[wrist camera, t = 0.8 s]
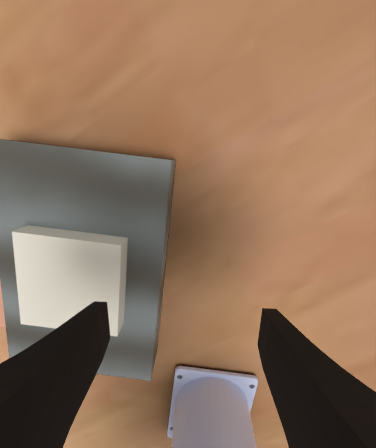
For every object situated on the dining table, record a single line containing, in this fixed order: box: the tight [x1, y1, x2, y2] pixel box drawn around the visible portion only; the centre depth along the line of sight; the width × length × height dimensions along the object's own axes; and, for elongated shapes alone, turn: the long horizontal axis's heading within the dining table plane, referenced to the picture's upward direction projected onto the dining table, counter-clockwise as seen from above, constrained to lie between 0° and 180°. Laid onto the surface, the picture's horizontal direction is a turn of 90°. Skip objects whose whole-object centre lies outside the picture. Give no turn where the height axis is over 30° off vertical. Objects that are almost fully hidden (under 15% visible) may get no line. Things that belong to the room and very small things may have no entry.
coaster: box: [12, 225, 128, 336], centre depth 16 cm, size 7×7×2 cm
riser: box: [0, 139, 176, 381], centre depth 18 cm, size 18×12×3 cm, turn 173°
